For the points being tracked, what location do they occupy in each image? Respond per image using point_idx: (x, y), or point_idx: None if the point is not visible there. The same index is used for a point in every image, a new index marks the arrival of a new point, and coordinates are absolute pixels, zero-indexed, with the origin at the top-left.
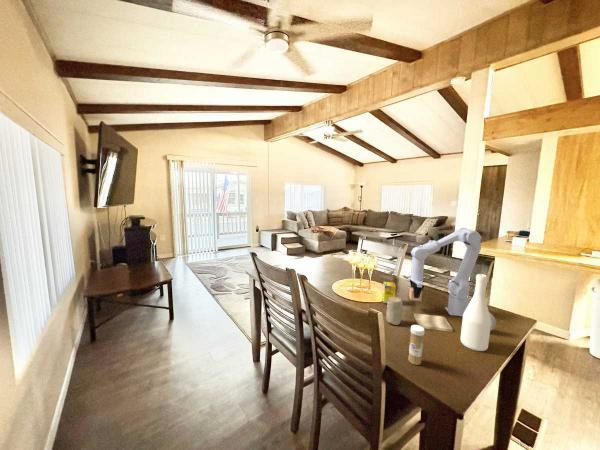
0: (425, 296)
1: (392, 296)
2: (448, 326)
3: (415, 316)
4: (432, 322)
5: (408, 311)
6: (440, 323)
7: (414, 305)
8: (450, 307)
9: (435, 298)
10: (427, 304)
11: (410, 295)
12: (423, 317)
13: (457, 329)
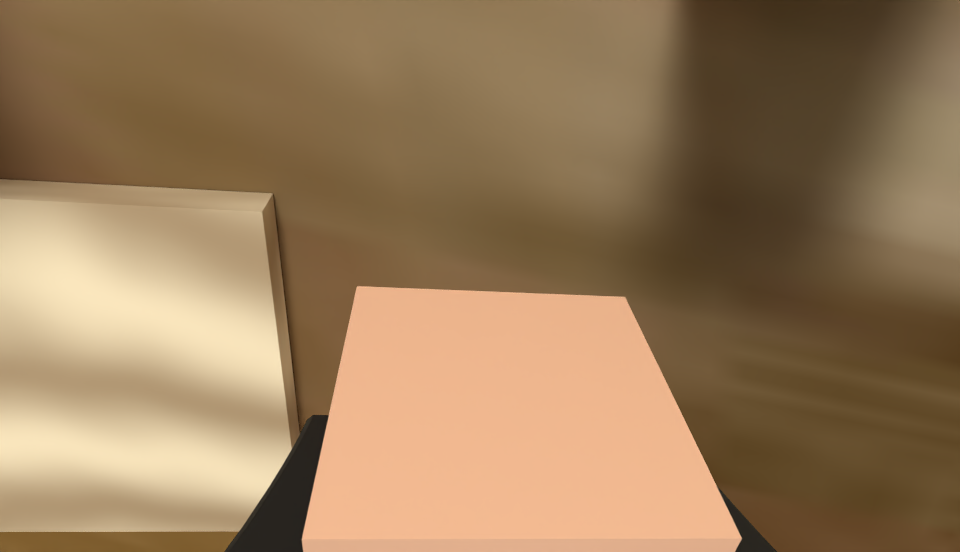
0: (942, 472)
1: None
2: (30, 512)
3: (134, 204)
4: (34, 388)
5: (421, 138)
6: (64, 462)
7: (671, 288)
8: None
9: (858, 542)
10: (700, 443)
11: (455, 352)
12: (153, 316)
13: (93, 547)
